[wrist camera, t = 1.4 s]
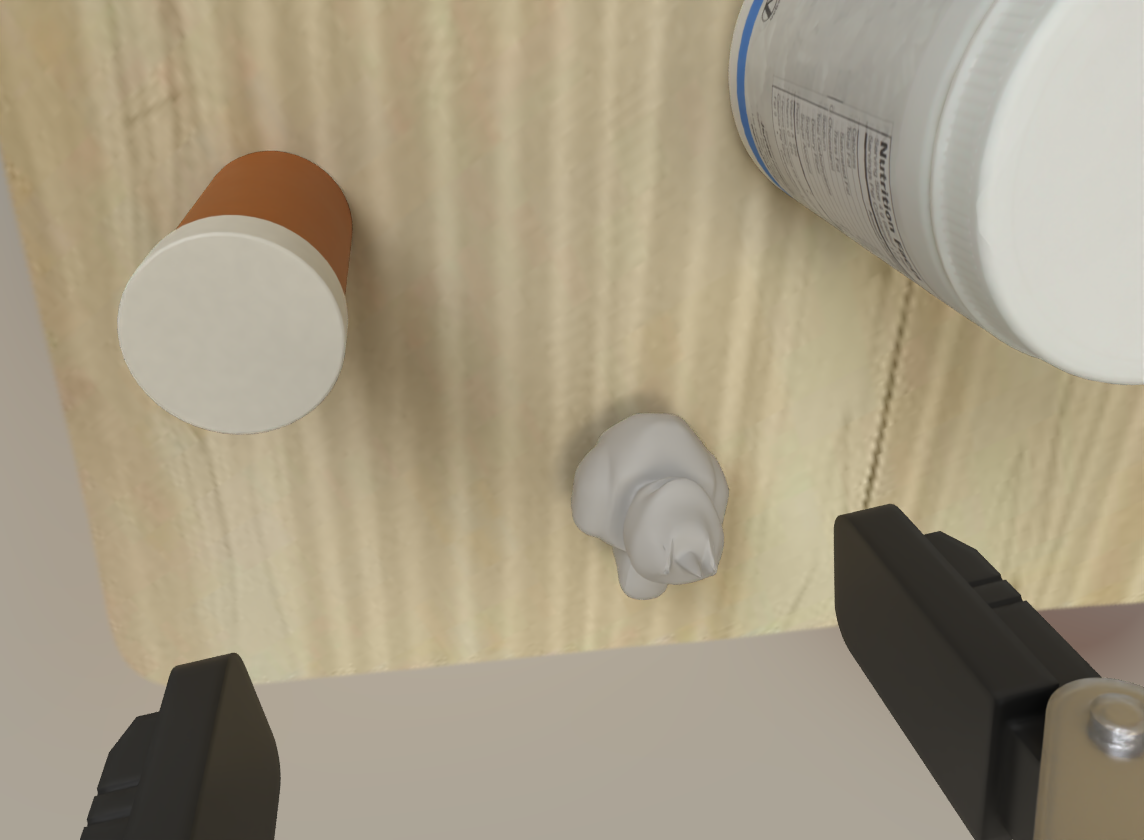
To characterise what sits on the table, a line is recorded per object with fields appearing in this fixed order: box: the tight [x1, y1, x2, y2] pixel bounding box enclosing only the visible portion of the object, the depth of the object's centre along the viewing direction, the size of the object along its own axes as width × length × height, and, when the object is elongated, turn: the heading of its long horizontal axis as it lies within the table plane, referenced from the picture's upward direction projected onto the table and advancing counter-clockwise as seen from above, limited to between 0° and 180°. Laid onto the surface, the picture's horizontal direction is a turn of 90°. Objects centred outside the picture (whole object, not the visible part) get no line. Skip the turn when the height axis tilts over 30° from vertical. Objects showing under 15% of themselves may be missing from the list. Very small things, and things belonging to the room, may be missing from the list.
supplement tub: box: [728, 0, 1144, 385], centre depth 23 cm, size 10×10×15 cm
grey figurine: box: [571, 413, 729, 600], centre depth 31 cm, size 5×7×8 cm
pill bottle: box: [117, 151, 352, 435], centre depth 24 cm, size 5×5×10 cm
